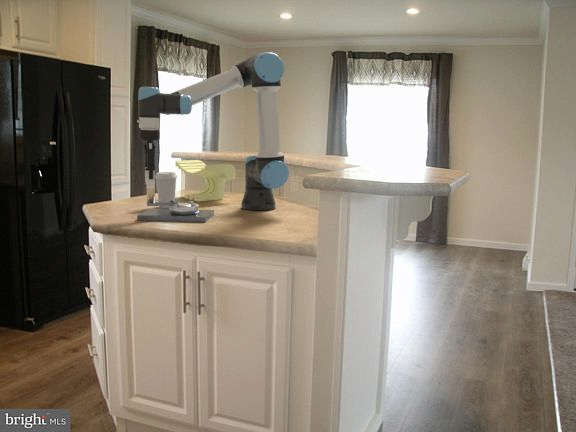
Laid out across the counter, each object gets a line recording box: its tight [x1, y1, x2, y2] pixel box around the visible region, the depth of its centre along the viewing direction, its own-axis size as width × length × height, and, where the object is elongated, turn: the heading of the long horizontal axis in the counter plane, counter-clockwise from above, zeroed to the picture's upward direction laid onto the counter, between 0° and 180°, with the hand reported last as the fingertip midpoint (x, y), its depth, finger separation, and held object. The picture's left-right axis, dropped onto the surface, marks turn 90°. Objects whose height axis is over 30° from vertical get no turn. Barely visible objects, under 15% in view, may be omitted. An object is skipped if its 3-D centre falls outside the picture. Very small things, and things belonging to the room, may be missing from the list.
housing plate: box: [136, 208, 215, 223], centre depth 214 cm, size 26×17×2 cm, turn 87°
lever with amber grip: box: [145, 182, 200, 215], centre depth 211 cm, size 20×11×12 cm, turn 107°
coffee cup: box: [155, 171, 178, 209], centre depth 238 cm, size 10×10×15 cm
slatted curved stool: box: [175, 159, 237, 202], centre depth 267 cm, size 30×16×18 cm, turn 39°
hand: (149, 186), depth 208 cm, fingers open, 13 cm apart
